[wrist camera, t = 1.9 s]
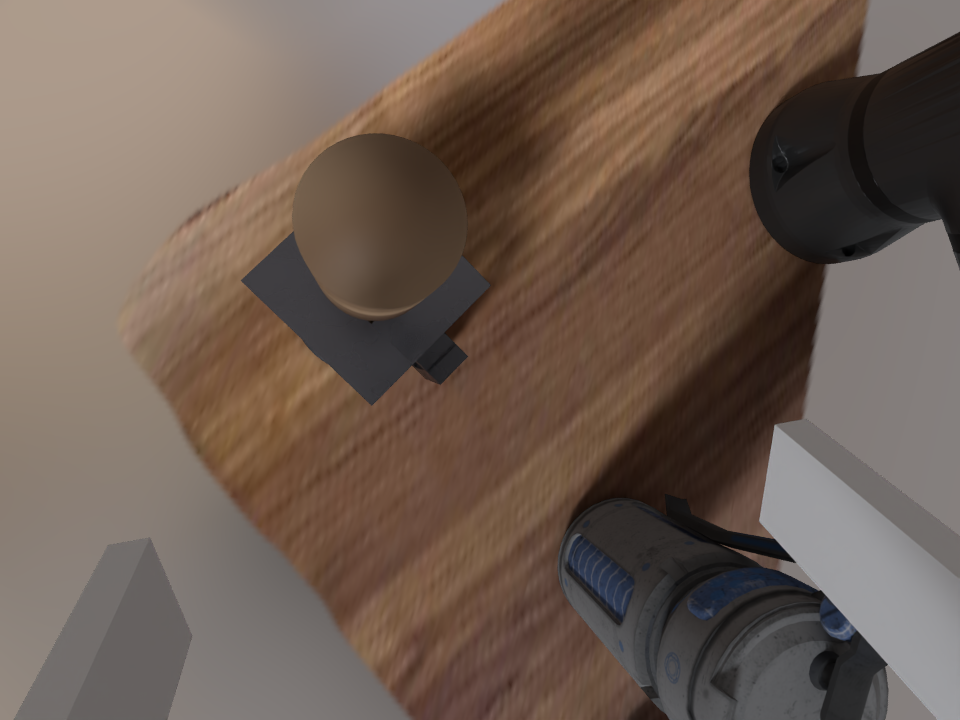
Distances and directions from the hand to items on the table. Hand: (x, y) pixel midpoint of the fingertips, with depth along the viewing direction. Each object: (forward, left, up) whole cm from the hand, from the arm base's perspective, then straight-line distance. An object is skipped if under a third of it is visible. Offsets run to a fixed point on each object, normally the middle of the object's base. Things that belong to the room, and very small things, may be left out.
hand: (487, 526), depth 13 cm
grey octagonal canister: (+7, -4, -33) cm, 34 cm away
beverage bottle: (-21, -4, -33) cm, 40 cm away
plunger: (+7, -4, -21) cm, 22 cm away
